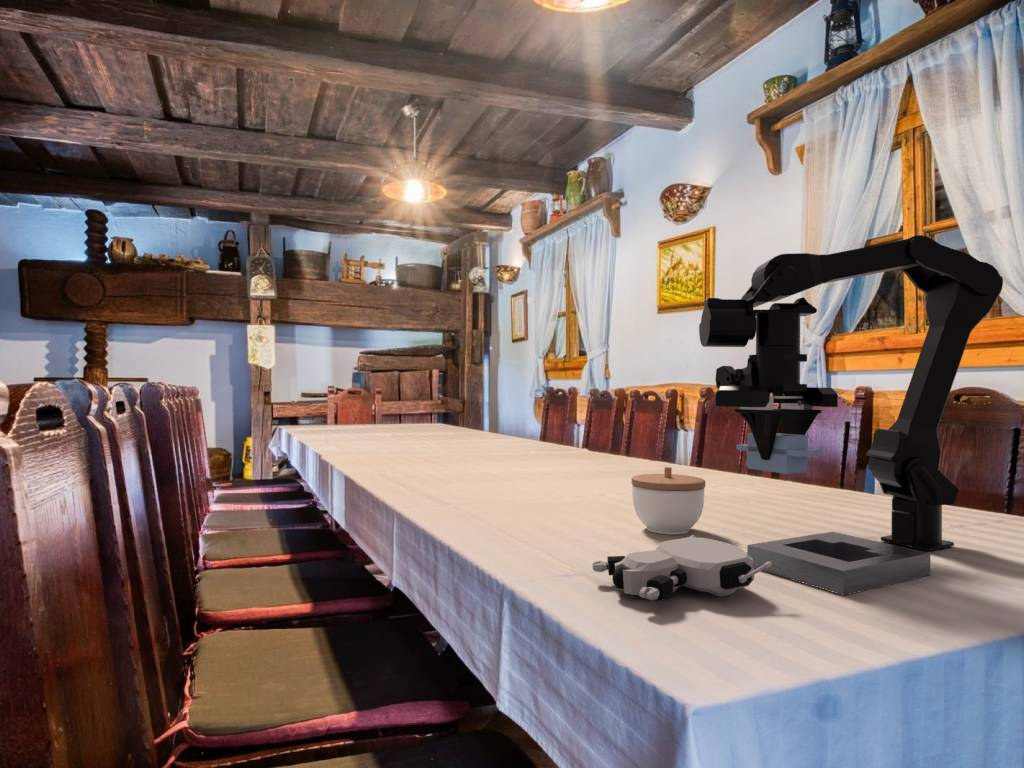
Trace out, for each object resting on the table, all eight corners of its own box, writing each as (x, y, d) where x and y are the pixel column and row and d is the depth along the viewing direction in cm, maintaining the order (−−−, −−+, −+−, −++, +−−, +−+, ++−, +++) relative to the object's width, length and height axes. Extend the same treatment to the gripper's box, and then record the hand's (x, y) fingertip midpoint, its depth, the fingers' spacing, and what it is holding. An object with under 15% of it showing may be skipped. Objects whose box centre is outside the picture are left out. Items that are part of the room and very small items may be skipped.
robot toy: (650, 630, 56) (779, 600, 61) (647, 580, 56) (776, 554, 61) (586, 589, 67) (699, 567, 73) (583, 548, 67) (697, 528, 72)
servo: (764, 464, 93) (764, 431, 93) (828, 473, 83) (828, 436, 83) (736, 466, 90) (736, 432, 90) (799, 475, 81) (799, 437, 81)
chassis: (832, 550, 81) (832, 531, 81) (930, 574, 70) (930, 552, 71) (747, 565, 73) (747, 544, 73) (843, 595, 63) (843, 571, 63)
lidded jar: (616, 529, 93) (617, 466, 93) (657, 519, 100) (658, 461, 100) (679, 542, 85) (679, 474, 85) (718, 531, 92) (719, 468, 92)
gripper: (773, 353, 98) (773, 451, 98) (686, 347, 89) (685, 456, 89) (840, 349, 88) (839, 458, 88) (749, 342, 79) (748, 464, 79)
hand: (777, 459), depth 86 cm, fingers closed on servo, 4 cm apart
